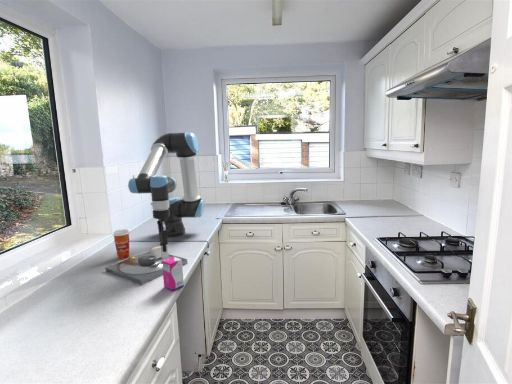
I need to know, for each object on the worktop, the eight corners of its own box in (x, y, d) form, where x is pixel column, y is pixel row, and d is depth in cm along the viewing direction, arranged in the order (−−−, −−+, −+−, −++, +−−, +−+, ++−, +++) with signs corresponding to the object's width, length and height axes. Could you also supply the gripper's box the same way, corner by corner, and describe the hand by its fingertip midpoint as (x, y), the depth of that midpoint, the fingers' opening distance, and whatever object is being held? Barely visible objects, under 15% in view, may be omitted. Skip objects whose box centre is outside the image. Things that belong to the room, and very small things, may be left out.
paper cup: (114, 260, 149) (111, 234, 146) (117, 255, 156) (114, 229, 154) (130, 258, 151) (128, 232, 148) (132, 253, 158) (130, 228, 156)
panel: (152, 253, 157) (152, 248, 157) (187, 263, 143) (187, 258, 143) (105, 271, 136) (105, 266, 136) (141, 284, 122) (140, 279, 121)
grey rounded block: (145, 266, 134) (144, 255, 133) (134, 263, 138) (133, 252, 137) (171, 256, 146) (170, 245, 145) (160, 253, 150) (159, 242, 150)
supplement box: (175, 281, 124) (173, 255, 122) (184, 285, 120) (182, 259, 118) (163, 287, 119) (161, 260, 118) (172, 291, 116) (170, 263, 114)
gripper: (150, 207, 141) (154, 254, 145) (154, 212, 129) (158, 263, 133) (166, 205, 144) (170, 251, 148) (172, 210, 133) (175, 260, 136)
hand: (164, 257), depth 141 cm, fingers closed
